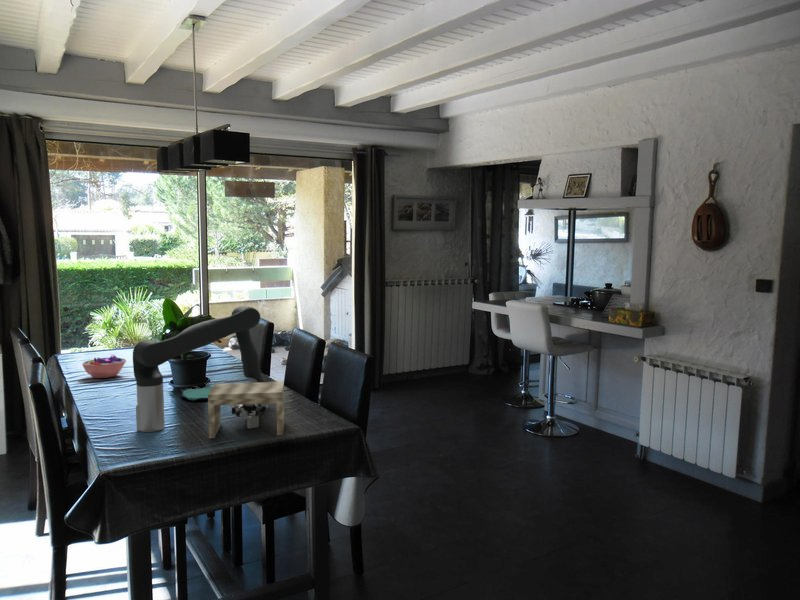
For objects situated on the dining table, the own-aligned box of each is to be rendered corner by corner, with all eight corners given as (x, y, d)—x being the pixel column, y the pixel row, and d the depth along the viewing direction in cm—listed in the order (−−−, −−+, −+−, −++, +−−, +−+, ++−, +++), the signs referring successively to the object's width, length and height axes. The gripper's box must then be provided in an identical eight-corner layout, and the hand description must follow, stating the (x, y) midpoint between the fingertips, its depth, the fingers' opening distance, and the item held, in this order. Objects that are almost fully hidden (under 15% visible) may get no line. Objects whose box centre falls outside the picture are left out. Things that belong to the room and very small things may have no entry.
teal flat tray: (186, 405, 263) (186, 399, 263) (173, 389, 289) (173, 384, 289) (232, 398, 274) (232, 393, 273) (215, 384, 299) (215, 379, 299)
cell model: (83, 375, 314) (82, 353, 313) (126, 372, 322) (125, 350, 321) (82, 382, 299) (81, 360, 297) (127, 379, 307) (126, 356, 306)
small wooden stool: (209, 438, 220) (207, 394, 219) (215, 424, 236) (214, 383, 234) (282, 434, 224) (282, 392, 223) (284, 421, 240) (283, 381, 238)
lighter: (257, 425, 233) (256, 404, 232) (259, 426, 232) (258, 406, 231) (239, 428, 229) (239, 408, 228) (241, 430, 228) (240, 409, 227)
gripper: (232, 392, 242) (227, 404, 226) (269, 391, 244) (266, 403, 228) (232, 411, 243) (227, 424, 227) (269, 409, 245) (267, 423, 229)
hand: (247, 414), depth 227 cm, fingers closed on lighter, 6 cm apart
